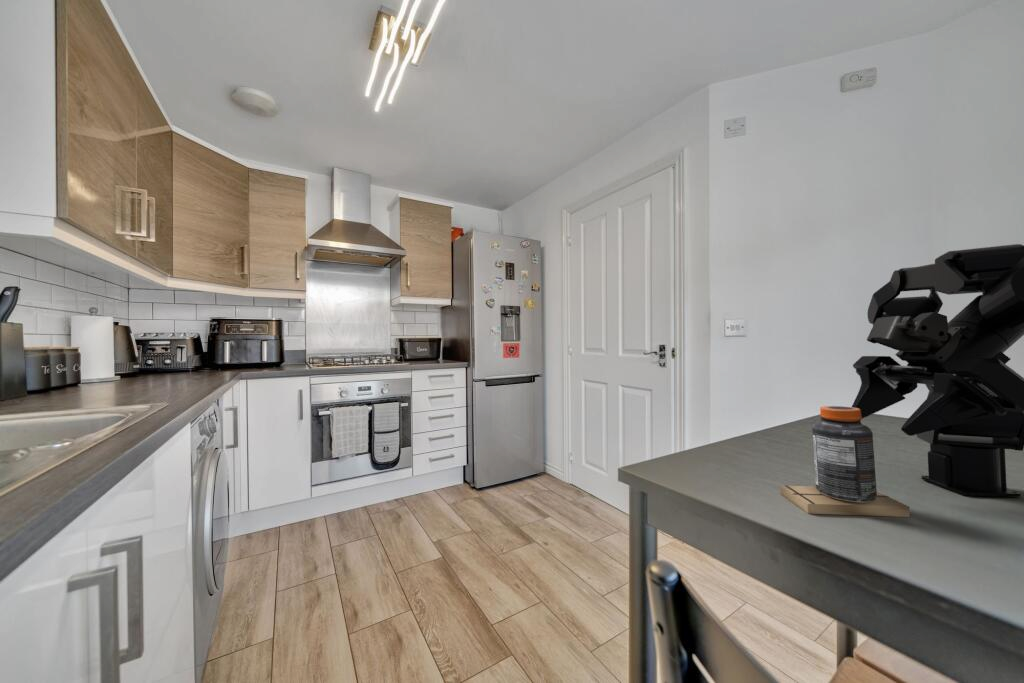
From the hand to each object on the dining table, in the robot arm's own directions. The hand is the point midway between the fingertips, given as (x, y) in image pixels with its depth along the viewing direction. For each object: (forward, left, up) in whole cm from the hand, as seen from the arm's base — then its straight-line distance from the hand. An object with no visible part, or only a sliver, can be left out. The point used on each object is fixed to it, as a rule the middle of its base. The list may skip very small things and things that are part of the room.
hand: (875, 424), depth 48 cm
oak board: (+5, +1, -10) cm, 11 cm away
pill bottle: (+4, 0, -9) cm, 10 cm away
